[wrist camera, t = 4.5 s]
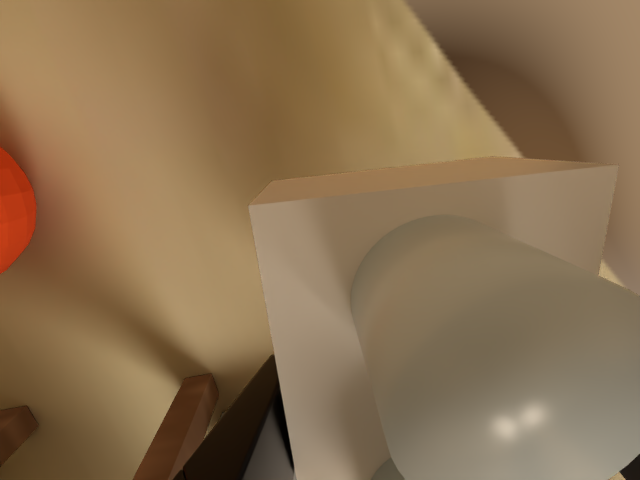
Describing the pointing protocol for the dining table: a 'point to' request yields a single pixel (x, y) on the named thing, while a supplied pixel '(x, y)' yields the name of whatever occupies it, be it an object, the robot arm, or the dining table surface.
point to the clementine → (14, 211)
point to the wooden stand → (168, 444)
